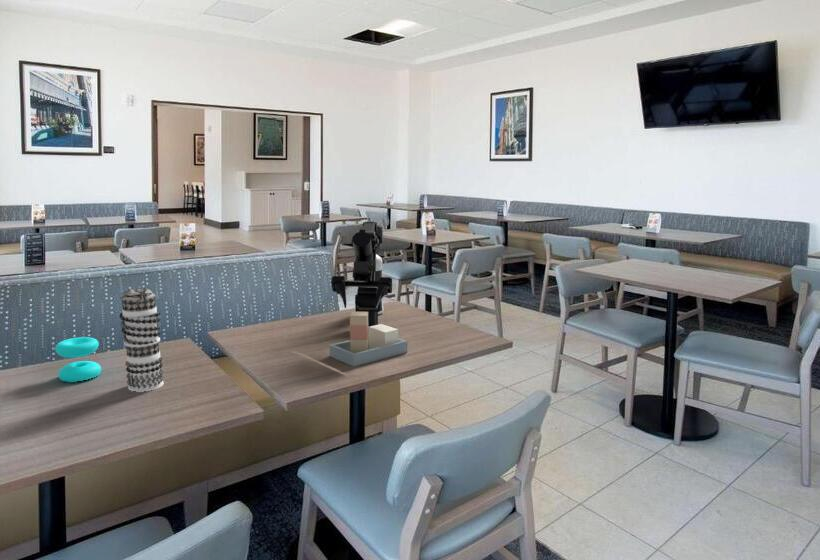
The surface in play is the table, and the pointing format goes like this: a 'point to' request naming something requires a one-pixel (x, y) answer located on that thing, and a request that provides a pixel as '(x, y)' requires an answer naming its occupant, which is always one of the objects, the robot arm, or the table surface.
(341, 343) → the tote
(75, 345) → the donuts
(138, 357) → the decorative candle
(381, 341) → the cream rectangular block
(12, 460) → the table surface
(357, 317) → the oat carton
